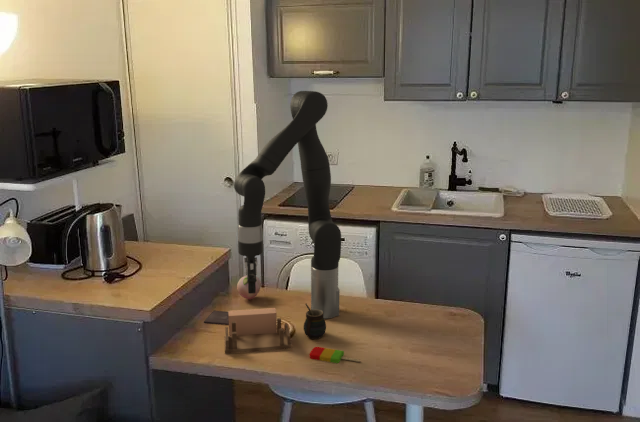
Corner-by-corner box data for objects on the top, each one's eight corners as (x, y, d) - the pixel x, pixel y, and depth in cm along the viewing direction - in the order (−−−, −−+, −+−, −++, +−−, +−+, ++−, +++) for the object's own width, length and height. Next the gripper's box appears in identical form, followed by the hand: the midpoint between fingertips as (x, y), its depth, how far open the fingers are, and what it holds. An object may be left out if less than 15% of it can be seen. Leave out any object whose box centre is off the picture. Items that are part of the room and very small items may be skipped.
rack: (288, 335, 188) (288, 317, 186) (291, 348, 179) (291, 330, 178) (224, 339, 185) (223, 321, 183) (224, 353, 176) (224, 334, 175)
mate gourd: (318, 343, 183) (318, 313, 180) (298, 337, 187) (297, 308, 184) (330, 334, 189) (330, 305, 186) (310, 328, 193) (310, 300, 190)
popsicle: (314, 351, 179) (314, 345, 179) (362, 359, 175) (362, 353, 174) (308, 359, 174) (308, 354, 174) (357, 368, 170) (357, 362, 169)
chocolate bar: (213, 310, 205) (264, 314, 202) (213, 312, 205) (264, 317, 202) (203, 321, 196) (256, 326, 193) (204, 324, 197) (256, 328, 193)
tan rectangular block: (275, 327, 194) (275, 307, 192) (276, 333, 190) (276, 312, 188) (229, 330, 191) (228, 310, 190) (229, 336, 188) (228, 315, 186)
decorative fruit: (241, 293, 221) (241, 268, 218) (263, 295, 219) (262, 269, 217) (234, 303, 212) (233, 277, 209) (256, 305, 210) (255, 278, 208)
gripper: (264, 245, 177) (264, 296, 181) (261, 231, 190) (261, 279, 194) (238, 246, 175) (239, 297, 179) (237, 232, 189) (238, 280, 193)
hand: (251, 287), depth 187 cm, fingers open, 8 cm apart
